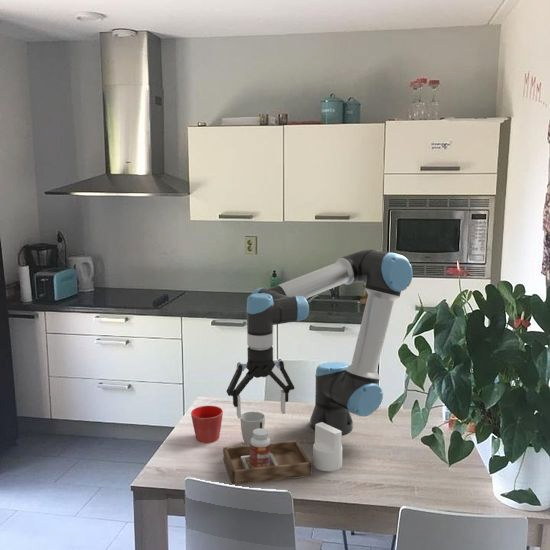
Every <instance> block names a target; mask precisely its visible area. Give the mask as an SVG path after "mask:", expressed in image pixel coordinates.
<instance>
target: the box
mask: <svg viewBox="0 0 550 550" xmlns="http://www.w3.org/2000/svg"><path fill="white" fill-rule="evenodd" d="M222 457H223V459H222V460H223V462H224V465H225V469H226V471H227V475H228V478H229V480H230V484H231V485H232V484H235V485H242V484H250V483H259V482H260V483H261V482H269V481H278V480H287V479H288V480H289V479H294V478H295V479H297V478H306V477H311V476H312V465H313V462H312V461H310V459H309V457H308V455H307V453H306V452H305V451H304V449H303V447H302V446H301V444H300V442H299V441H298V440H285V441H277V442H270V465H269V466H267V467H258V468H252V467H251V466H250V445H245V444H244V445H235V446H226V447H225V446H224V447H223V449H222Z"/></svg>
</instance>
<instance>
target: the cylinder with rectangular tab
mask: <svg viewBox="0 0 550 550" xmlns="http://www.w3.org/2000/svg"><path fill="white" fill-rule="evenodd" d="M312 446H313V447H312V465H313V467H314V468H315V469H317V470H319V471H322V472H334V471H338V470H339V469H341V468H342V466H343V445H342V431H340V430H338V429H336V428H334V427H332V426H329V425H327V424H325V423H323V422H320V423H317V424H315V431H314V443H313V444H312Z"/></svg>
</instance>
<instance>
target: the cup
mask: <svg viewBox="0 0 550 550" xmlns="http://www.w3.org/2000/svg"><path fill="white" fill-rule="evenodd" d="M239 419H240V429H241V436H242V439H243V443H244V445H250V440H251V438H252V437H253V430H255V429H258V428H262V429H265V424H266V423H265V421H266V415H265V414H264V413H263V412H259V411H245V412H243V413H241V418H239Z"/></svg>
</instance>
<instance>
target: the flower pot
mask: <svg viewBox="0 0 550 550" xmlns="http://www.w3.org/2000/svg"><path fill="white" fill-rule="evenodd" d="M223 413H224V409H222V407H220V406H216V405H202V406H201V405H200V406H197V407H195V408H193V409H192V410H191V412H190V415H191V421H192V426H193V430H194V431H193V432H194V435H195V440H196V441H197V442H198V443H200V444H211V443H215V442H216V441H218V440H220V436H221V428H222V421H223Z"/></svg>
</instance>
